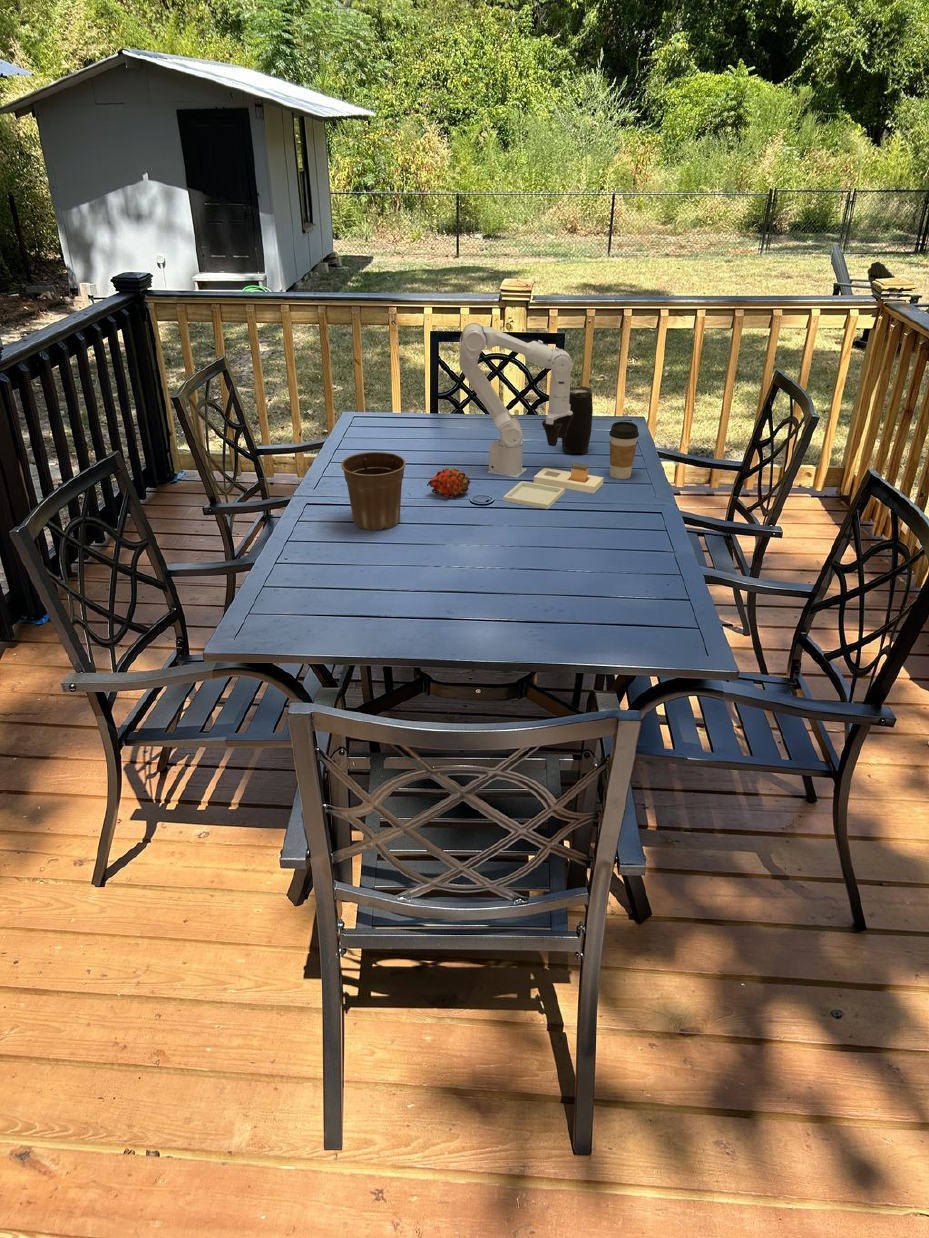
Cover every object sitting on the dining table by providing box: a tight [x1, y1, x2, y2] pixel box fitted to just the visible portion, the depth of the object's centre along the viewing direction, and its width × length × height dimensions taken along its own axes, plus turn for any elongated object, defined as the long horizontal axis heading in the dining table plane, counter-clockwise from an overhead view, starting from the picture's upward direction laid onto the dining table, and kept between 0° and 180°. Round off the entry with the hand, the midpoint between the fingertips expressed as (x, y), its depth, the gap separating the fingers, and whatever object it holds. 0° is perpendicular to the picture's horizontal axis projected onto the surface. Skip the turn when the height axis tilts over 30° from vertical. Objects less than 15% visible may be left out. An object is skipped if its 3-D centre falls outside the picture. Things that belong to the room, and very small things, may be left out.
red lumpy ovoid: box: [426, 467, 471, 499], centre depth 249 cm, size 8×8×12 cm
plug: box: [570, 462, 589, 483], centre depth 254 cm, size 4×3×6 cm
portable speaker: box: [561, 386, 594, 456], centre depth 277 cm, size 9×9×20 cm
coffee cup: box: [608, 420, 640, 480], centre depth 260 cm, size 8×8×15 cm
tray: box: [502, 480, 566, 510], centre depth 248 cm, size 13×13×2 cm
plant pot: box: [341, 451, 407, 531], centre depth 231 cm, size 16×16×16 cm
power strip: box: [533, 467, 604, 494], centre depth 257 cm, size 18×8×3 cm, turn 64°
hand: (556, 441), depth 262 cm, fingers open, 7 cm apart
